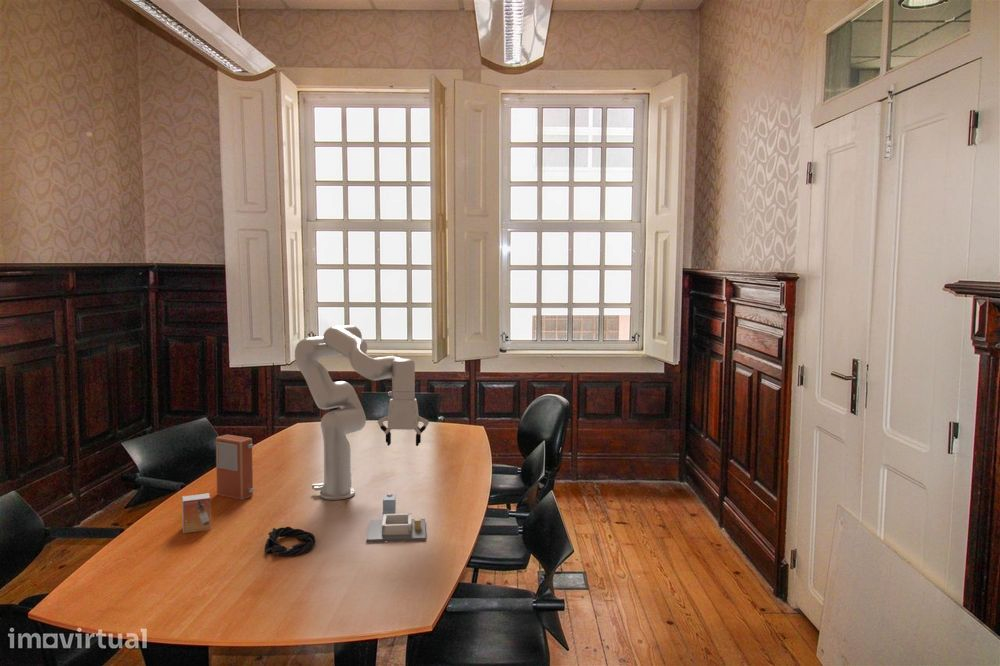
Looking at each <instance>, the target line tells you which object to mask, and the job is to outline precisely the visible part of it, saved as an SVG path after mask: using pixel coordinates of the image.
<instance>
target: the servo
mask: <svg viewBox="0 0 1000 666" xmlns="http://www.w3.org/2000/svg"><path fill="white" fill-rule="evenodd" d="M396 496H397V494H396V493H384V494H383V496H382V516H383V515H384V514H397V512H396V511H397V509H396V506H397V505H396V504H397V501H396V500H397V497H396Z"/></svg>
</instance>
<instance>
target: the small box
mask: <svg viewBox="0 0 1000 666" xmlns="http://www.w3.org/2000/svg"><path fill="white" fill-rule="evenodd" d="M181 503H182V505H181V508H182V510H181V512H182V513H181V515H182V517H181V518H182V520H181V521H182V533H183V534H189V533H197V532H205V531H206V532H207V531H210V530H211V529H212V525H211V520H212V519H211V516H212V515H211V513H212V512H211V496H210V493H209V492H206V493H201V494H192V495H181Z"/></svg>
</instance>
